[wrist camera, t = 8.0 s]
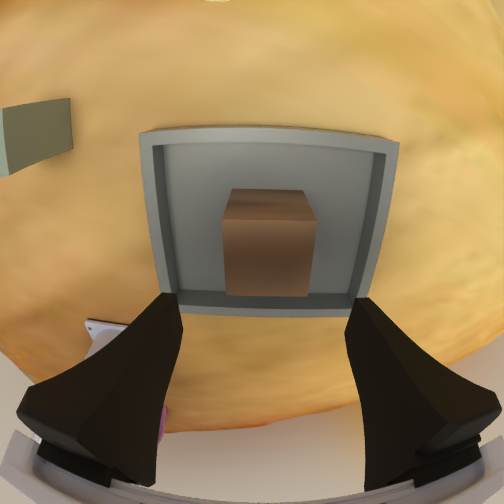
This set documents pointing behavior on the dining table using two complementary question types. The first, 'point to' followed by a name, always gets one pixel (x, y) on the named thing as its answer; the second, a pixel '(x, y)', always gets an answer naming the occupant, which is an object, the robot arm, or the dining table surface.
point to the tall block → (33, 133)
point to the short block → (268, 242)
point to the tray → (265, 177)
